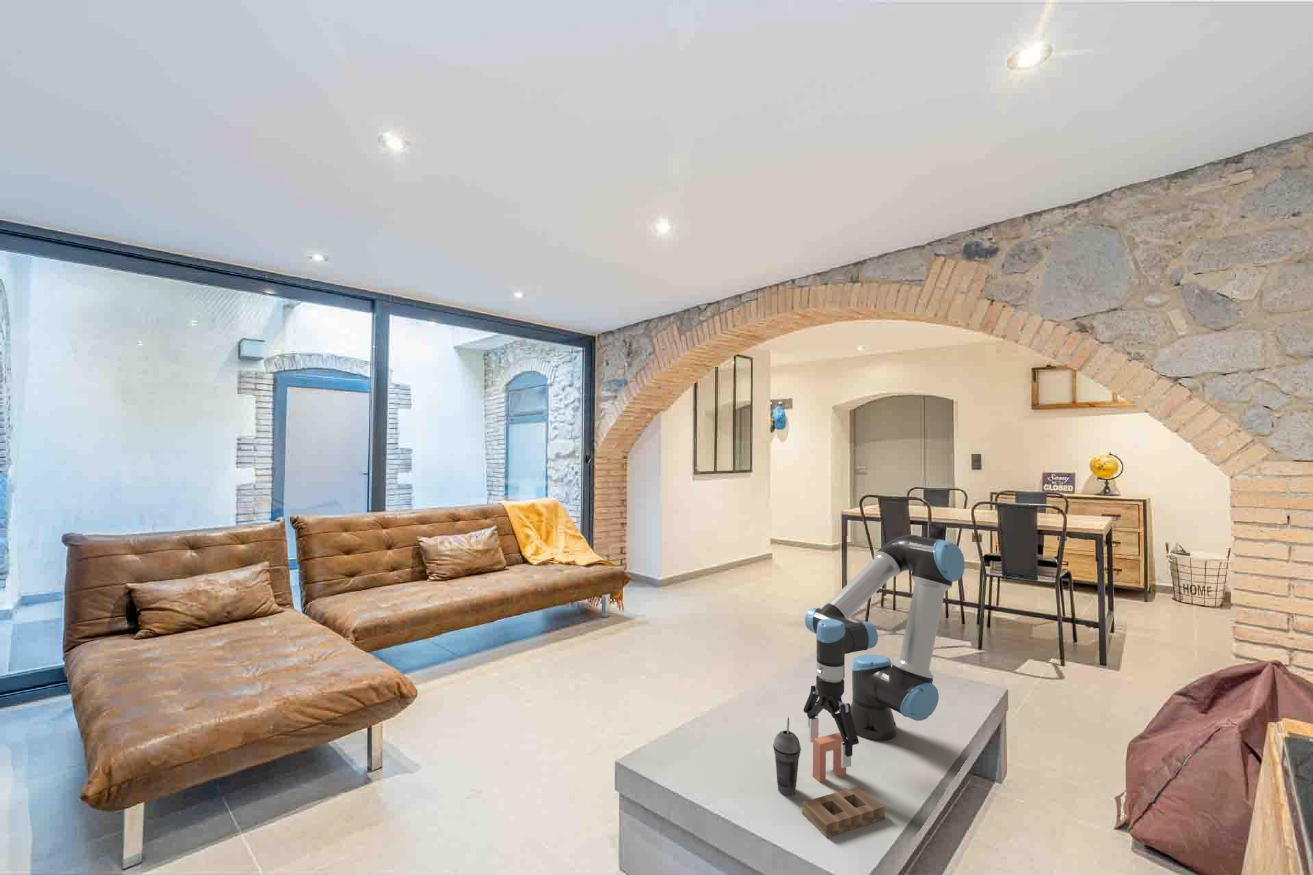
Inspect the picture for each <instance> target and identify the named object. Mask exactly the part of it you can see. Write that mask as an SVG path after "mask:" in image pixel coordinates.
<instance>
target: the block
mask: <svg viewBox="0 0 1313 875" xmlns="http://www.w3.org/2000/svg"><path fill="white" fill-rule="evenodd" d="M841 742H844V741H843V739H842V736H841V734H840V732H837V733H832V734H827V735H823V736H818V738H814V739H813V742H812V777H813V778H814V779H815V780H816V781H817V782H818V783H823V782H826V780H827V779H826V777H827V775H826V774H827V772H826V771H827V767H826V766H827V752H830V751H832V760H833V761H832V772H834V773H835V774H836V775H837V776H838V777H839V778H842V777H845V776H846V775H847V767H846V768H842V767H841Z"/></svg>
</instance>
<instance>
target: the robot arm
mask: <svg viewBox="0 0 1313 875" xmlns="http://www.w3.org/2000/svg"><path fill="white" fill-rule="evenodd" d="M965 567H966V561H965V557H964V554H963V552H962V550H961V548H960V546H958V545H957V544H956V543H954V542H951V541H946V540H944V539H939V538H933V537H932V538H931V537H927V536H926V537H925V536H921V535H916V534H905V535H902V536H899V537H896V538H894V539H893V540H891V541H889V542H887V543H885V544H884V545H883V546H882V547H880V548H879V549H878V550H877V551H876V552H874V554H873V559H872V560H871V561H870V562H869V563H868V564H867V565H866V566H864V568H863V569H861V570H860V571H859V573H857V575H855V576H854V577H853V578H851V580H850V581H849V582H848V583H846V585H845V586H844V587H843V588H842V589H841V590H839V591H838V592H837V593H836V595H834V596H833V597H832V598H831V599H830V600H829V601H828V602H827V603H826V604H825V605H823V607H822V608H820V607H812V608H810V609H809V610H808V611H807V612H806V614H805V617H804V624H805V627H806V628H807V630H808V631H809V632H812V633H814V634H815V638H816V670H815V671H816V678H815V679H816V681H815V684H814V685H811V686H810V691H809V692H810V693H809V695H808V698H807V699H806V702H805V705H804V707H803V713H805V714H807V717H808V742H809V743H810V744H811V743H812V744H813V739H814V738H819V729H820V728H819V725H820V724H819V723H820V722H819V720H820V719H819V714H820V713H821V712H822V711H823V710H825V711H827V712H828V713H829V714H830V715H831V718H833V719H834V721H835V723H836V726H837V729H838V732H839V733H840V734H841V736H842V739H843V741H844V742H841V767H842V768H846V769H847V768H849V767H852V756H853V746H855V745H859V743H860V742H859V738H858V736H860V737H862V738H863V739H864V738H865V739H868V740H876V741H886V740H891V739H893V738H894V737H895V736H896V735H897V724H896V721H895V716H894V714H893V711H892V710H894V711H895V712H897V713H899V714H901V715H902V716H903V717H905V718H909V719H912V720H914V721H916V722H919V721H921V722H922V721H923V720H927V719H928V718H929V717H930V716H931V715H933V713H934V712H935V710H936V709H937V707H938V704H939V699H940V696H939V695H940V694H939V691H938V688H937V687H936V686H935V684H933V681H934V675H933V673H932V672H931V670H930V666H931V662H932V657H933V653H934V647H935V642H936V639H937V638H936V637H937V632H938V628H939V622H940V618H941V614H942V613H941V612H942V607H943V603H944V597H945V593H946V592H947V591H948V590H950V589H952V586H953V583H954V582H958V581H959V580H960V579H961V577H963V575H964V573H965V569H966V568H965ZM905 571H910V572H911V576H910V577H911V579H912V580H913V581H914V587H913V591H912V592H913V593H912V596H911V600H910V605H909V611H908V615H907V619H906V624H905V630H904V634H903V640H902V644H901V649H900V654H899V658H898V659H897V660H895V661H894V662H892V661H891V658H889V657H888V656H885V655H881V654H874V653H873V654H872V653H871V654H868V653H867V654H860V655H857V656H855V657H854V658H853V662H852V669H851V671H852V672H851V673H852V674H851V680H852V681H851V682H852V683H851V684H852V702H851V704H850V703H848V702H847V703H844V701H843V700H842V696H843V695H844V693H845V675H846V674H845V669H846V668H845V662H846V661H845V656H846V654H851V653H856V652H860V651H861V652H862V651H867V650H869V649H873V648H874V647H875V646H877V644H878V641H879V633H878V631H877V629H876V627H875V626H874V624H872V623H871V622H869V621H858V622H857V621H856V622H855V621H852V620H850V619H851V618H852V616H853V615H854V614H855V613H856V612H857V611H858V610H860V609H861V607H862V606H863V605H865V603H867V601H869V599H871V597H873V596H874V595H875V594H876V593H877V592H878V591H879V590H880V589H881V588H882V587H883V586H884V585H885V584H886V583H887V582H888V581H889V580H890V579H891V578H892V577H897V576H899V575H900V574H901V573H902V572H905Z"/></svg>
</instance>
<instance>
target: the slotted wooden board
mask: <svg viewBox="0 0 1313 875" xmlns="http://www.w3.org/2000/svg"><path fill="white" fill-rule="evenodd" d="M802 815H803V816H804V817H805V818H806V819H807V820H808V821H809V822H810V823H811V824H812V825H813V826H814V827H815V828H816V829H817V830H818V831H819V832H820V833H821V834H822V835H823V836H824V837H825V838H829V837H832V836H837V835H838V834H842V833H844V832H848V831H850V830H854V829H858V828H859V827H863V826H867V825H870V824H872V823H876V822H878V821H882V820H884V819H886V806H885V805H884V804H882V803H881V802H880V801H879V800H877V799H876V798H875V797H874V796H873V795H871V794H870V793H869V792H868V791H866V789H863V787H861V786H860V785H857V786H854V787H850V788H847V789H844V790H839V791H837V792H833V793H830V794H826V795H823V796H822V795H821V796H819V797H816V798H812V799H809V800H806V801H802Z"/></svg>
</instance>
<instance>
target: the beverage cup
mask: <svg viewBox="0 0 1313 875" xmlns="http://www.w3.org/2000/svg"><path fill="white" fill-rule="evenodd" d="M786 722H787V724H786V730H782V731H779V732H778V733H777V734H776V736H775V737H774V739H773V746H772V747H773V752H774V756H775V759H774V760H775V769H776V772H775V773H776V784H777V789H778V790H777V791H778V792H779V793H780V794H781V795H783V796H787V797H788V796H793V795H795V794H796V789H797V781H798V769H799V760H800V755H801V750H802V748H801V744H800V740H799V737H797V735H796V733H794V732H792V731H790V717H787V720H786Z"/></svg>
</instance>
